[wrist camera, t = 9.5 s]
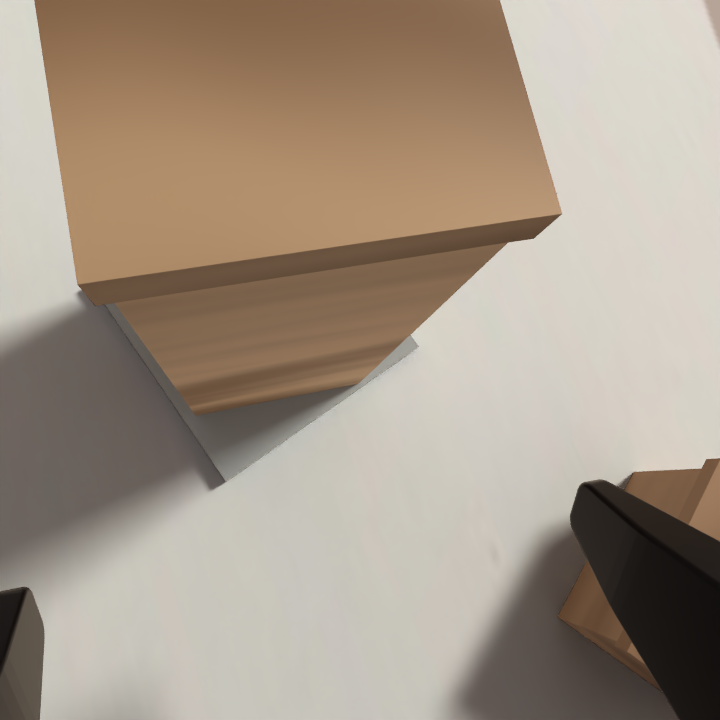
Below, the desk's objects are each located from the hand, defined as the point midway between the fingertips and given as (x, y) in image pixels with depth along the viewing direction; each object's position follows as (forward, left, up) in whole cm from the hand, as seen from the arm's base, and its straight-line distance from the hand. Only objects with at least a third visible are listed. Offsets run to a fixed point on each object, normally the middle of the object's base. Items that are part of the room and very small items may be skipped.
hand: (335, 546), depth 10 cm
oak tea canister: (+6, -3, -10) cm, 12 cm away
